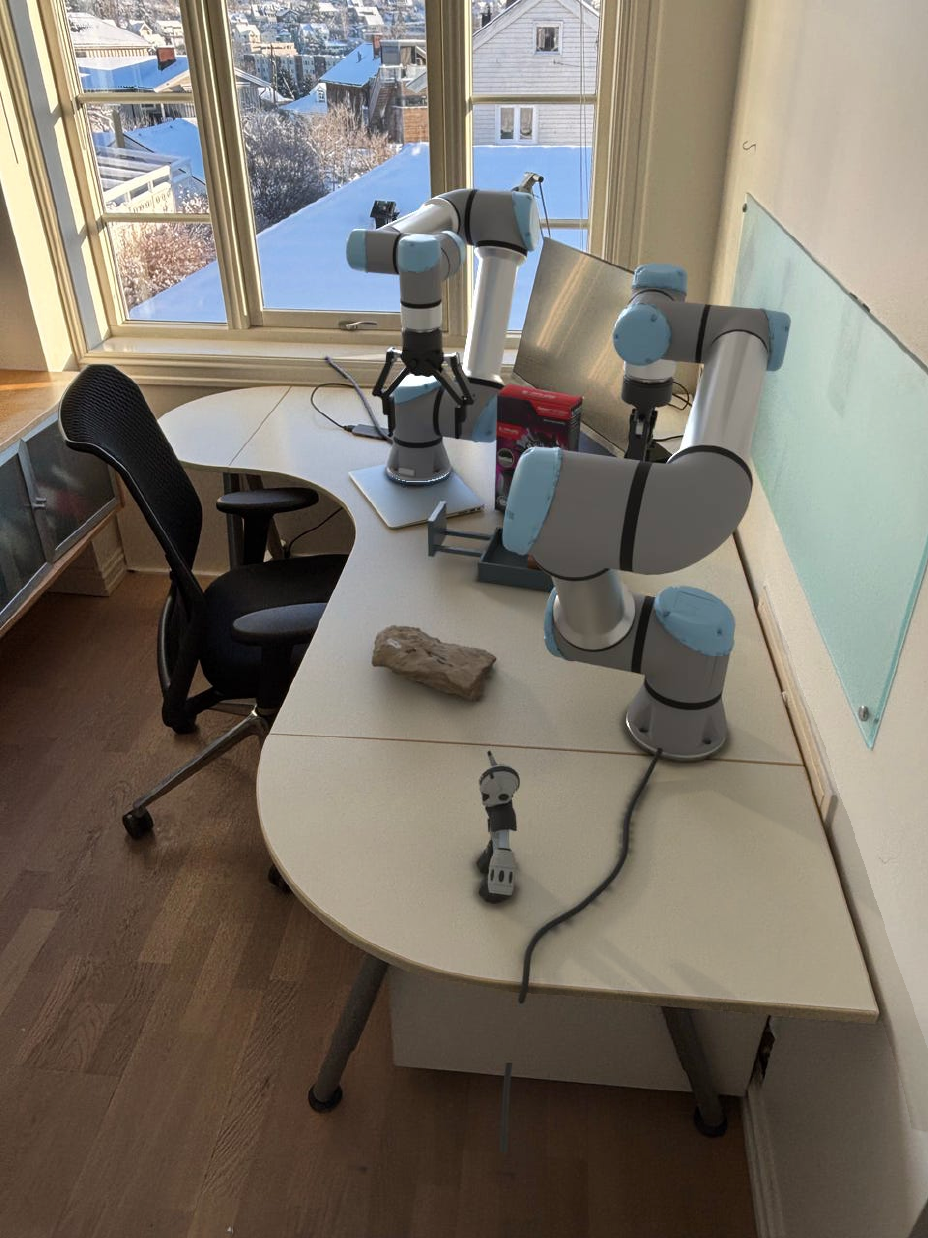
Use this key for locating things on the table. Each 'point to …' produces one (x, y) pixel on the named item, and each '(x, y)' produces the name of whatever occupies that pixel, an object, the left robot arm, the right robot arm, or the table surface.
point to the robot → (498, 831)
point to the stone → (433, 661)
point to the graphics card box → (531, 429)
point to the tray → (487, 555)
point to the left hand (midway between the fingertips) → (425, 433)
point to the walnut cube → (532, 563)
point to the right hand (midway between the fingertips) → (633, 503)
